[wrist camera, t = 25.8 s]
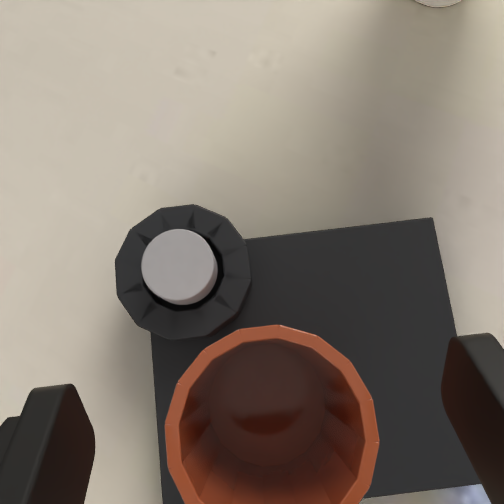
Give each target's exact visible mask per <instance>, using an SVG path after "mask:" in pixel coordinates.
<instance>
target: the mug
mask: <svg viewBox="0 0 504 504" xmlns="http://www.w3.org/2000/svg"><path fill="white" fill-rule="evenodd" d="M415 1H417V2H419V3H421V4H423V5H426V6H431V7H446V6H450V5H453V4H456V3H458V2H459V1H461V0H415Z"/></svg>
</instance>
